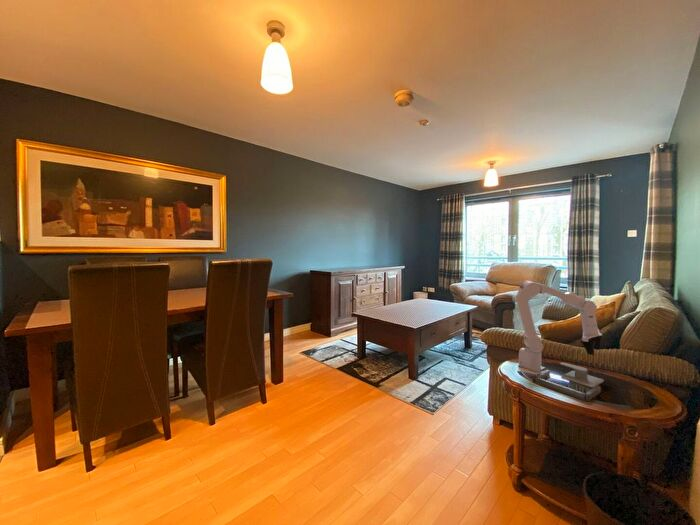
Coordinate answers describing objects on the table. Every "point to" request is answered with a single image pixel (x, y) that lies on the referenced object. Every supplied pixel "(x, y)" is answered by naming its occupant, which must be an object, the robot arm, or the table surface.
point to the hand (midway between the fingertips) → (594, 351)
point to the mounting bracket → (583, 396)
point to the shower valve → (581, 376)
